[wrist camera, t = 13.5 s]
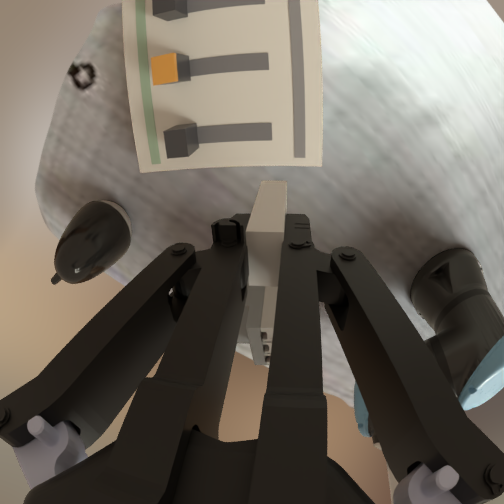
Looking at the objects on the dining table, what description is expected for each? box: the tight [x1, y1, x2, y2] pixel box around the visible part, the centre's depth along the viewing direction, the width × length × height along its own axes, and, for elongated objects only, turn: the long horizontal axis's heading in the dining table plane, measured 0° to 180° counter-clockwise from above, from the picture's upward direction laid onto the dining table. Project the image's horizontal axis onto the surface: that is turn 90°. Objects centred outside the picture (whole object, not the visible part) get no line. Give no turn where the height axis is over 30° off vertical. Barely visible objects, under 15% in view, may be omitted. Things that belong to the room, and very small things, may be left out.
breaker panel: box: [122, 0, 323, 173], centre depth 26 cm, size 22×24×9 cm
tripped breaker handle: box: [151, 53, 191, 86], centre depth 24 cm, size 2×3×5 cm
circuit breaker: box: [237, 278, 278, 365], centre depth 40 cm, size 8×14×15 cm, turn 98°
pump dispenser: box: [51, 200, 132, 285], centre depth 37 cm, size 10×10×15 cm
